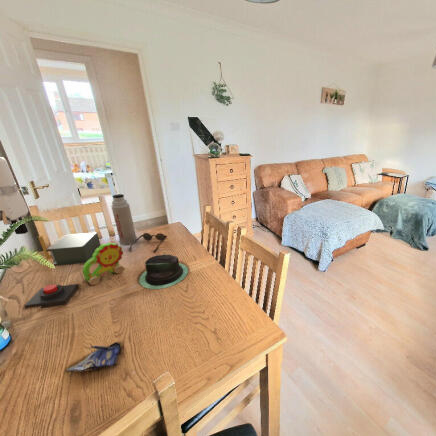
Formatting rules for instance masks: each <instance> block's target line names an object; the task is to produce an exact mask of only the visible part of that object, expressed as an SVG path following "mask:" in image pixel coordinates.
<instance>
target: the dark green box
mask: <svg viewBox="0 0 436 436" xmlns="http://www.w3.org/2000/svg"><path fill="white" fill-rule="evenodd" d="M100 245H102V244H101V242H100V237H99V233H98V232H95V231H94V232H79V233H66V234H63V236H61V237H60V238H59V239H57V240H56V241H55V242H54V243H52V244H51V245H49V246H48V247H47V249H46V251H48V252H50V251H52V252H53V254H54V257H55V260H56V262H55V263H54V262H53V263H52V264H54V265H55V266H54V267H56V266H67V265H78V264H85V263H86V262H87V261H88V260H89V259H90V258H92V255H93V253H94V252H95V250H96V249H97V248H99V246H100Z"/></svg>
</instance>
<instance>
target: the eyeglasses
mask: <svg viewBox="0 0 436 436" xmlns="http://www.w3.org/2000/svg"><path fill="white" fill-rule="evenodd" d="M153 237H155V238H156V240H158V241H160V242H159V243H158V244H157V246H156V248H155V250H153V253H156V252H157V251H158V248H159V246H160V245H161V244H162V243H163V242H164V241H165V240H166V239H167V237H168V235H165V234H164V233H162V232H158V233H157V234H150V233H148V232H144V233H143V234H141V235H140V236H139V237H137V238H136V239H137V240H135V241H134V242H133V243H132V244H130V246H129V253H132V252H131V249H132V246H133V245H134V244H135V243H136V242H137V241H138V240H140V239H141V238H143V239H144V240H147V241H151V240H152V239H153Z"/></svg>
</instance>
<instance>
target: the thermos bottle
mask: <svg viewBox="0 0 436 436" xmlns="http://www.w3.org/2000/svg"><path fill="white" fill-rule="evenodd" d="M112 198H113V199H112V201H111V210H112V215H113V218H114V222H115V226H116V231H117V236H118V239H119V243H120V245H123V246H127V245H131V244H132V243H133V242H134V241H135V240H137V239H138V238H137V234H136V231H135V225H134V221H133V216H132V212H131V206H130V204H129V202H128V200H127V199H125V194H123V193H119V194H113V195H112ZM137 241H138V240H137Z"/></svg>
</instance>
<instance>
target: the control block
mask: <svg viewBox="0 0 436 436" xmlns="http://www.w3.org/2000/svg"><path fill="white" fill-rule="evenodd" d="M55 285H56V286H57V288H58V290H57V291H55V292H53V293H50V294H45V292H44V290H43V289H44V288H45V287H41V288H40V289H39V290H38V291H37V292H36V293H35V294H34V295H32V297H31V298H30V299H29V300H28V301H26V303H24V305H23V306H24V309H29V308H37V307H40V309H43V308H51V307H58V306H65V305H66V306H67V305H68V303H69V302H70V301H71V299H72V298H73V297H74V295H75V294H76V293H77V292H78V290H79V289H80V287H79V284H78V283H73V284H65V285H61V284H55Z"/></svg>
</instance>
